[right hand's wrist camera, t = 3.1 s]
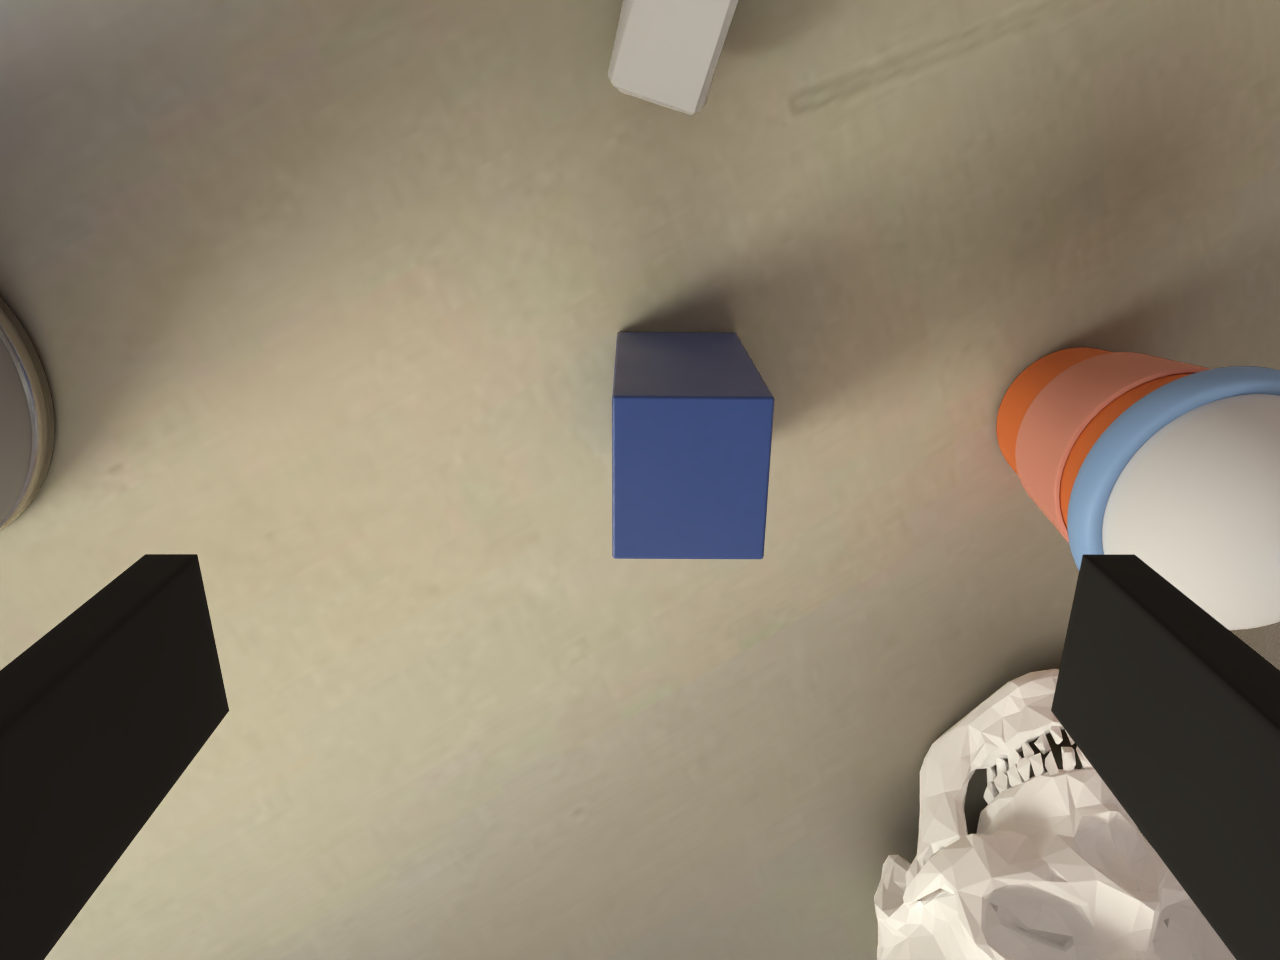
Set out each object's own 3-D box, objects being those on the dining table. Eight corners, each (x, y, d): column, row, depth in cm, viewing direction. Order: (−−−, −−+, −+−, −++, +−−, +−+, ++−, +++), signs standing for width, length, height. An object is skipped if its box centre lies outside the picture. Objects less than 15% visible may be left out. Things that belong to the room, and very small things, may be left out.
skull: (1171, 651, 41) (1459, 931, 26) (1067, 979, 49) (1243, 1338, 34) (895, 636, 41) (1027, 907, 26) (836, 966, 49) (911, 1318, 34)
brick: (736, 332, 36) (774, 397, 26) (730, 457, 38) (763, 560, 28) (617, 331, 35) (612, 396, 26) (617, 456, 37) (612, 559, 28)
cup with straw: (1191, 306, 35) (1705, 444, 18) (1153, 508, 38) (1560, 784, 22) (970, 316, 35) (1281, 463, 18) (951, 517, 38) (1200, 799, 22)
